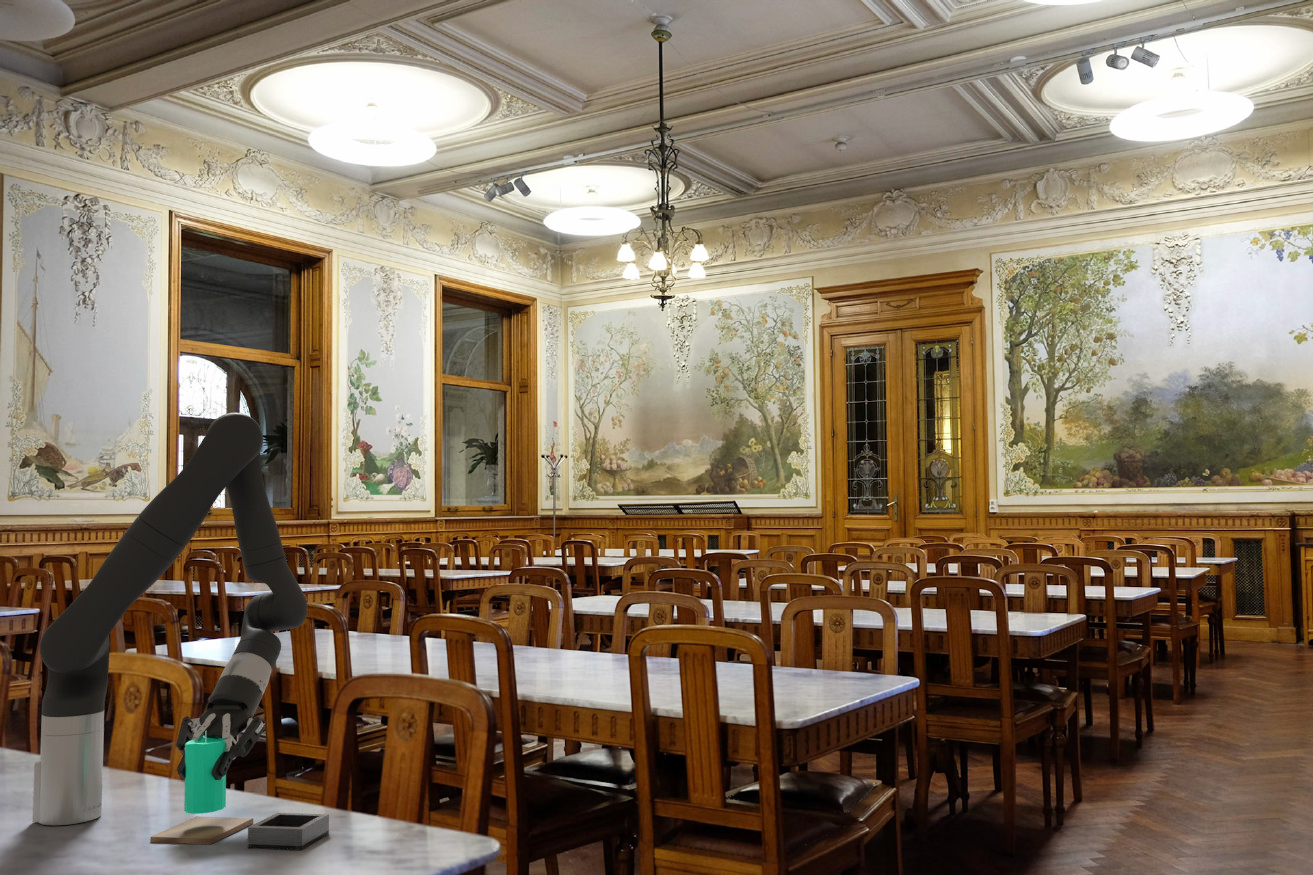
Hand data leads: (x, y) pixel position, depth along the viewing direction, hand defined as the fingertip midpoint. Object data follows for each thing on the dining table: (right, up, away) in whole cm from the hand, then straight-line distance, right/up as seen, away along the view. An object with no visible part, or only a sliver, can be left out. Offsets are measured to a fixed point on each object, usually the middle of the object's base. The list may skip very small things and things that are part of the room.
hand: (199, 776), depth 171 cm
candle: (0, -6, +2) cm, 6 cm away
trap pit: (+16, -8, -5) cm, 18 cm away
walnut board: (0, -9, +1) cm, 9 cm away
